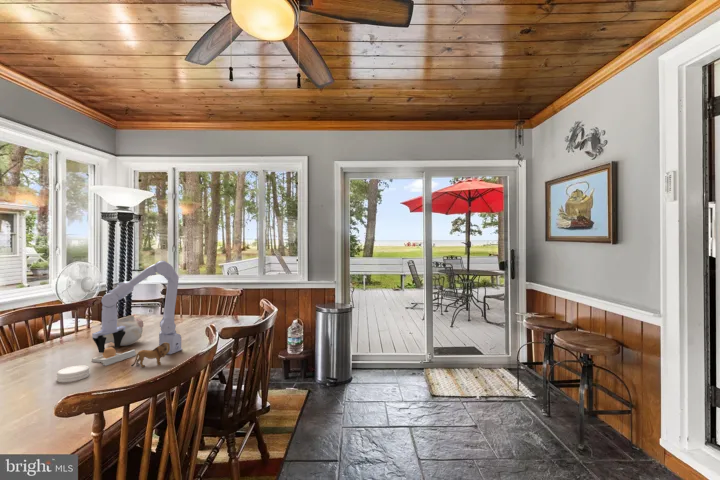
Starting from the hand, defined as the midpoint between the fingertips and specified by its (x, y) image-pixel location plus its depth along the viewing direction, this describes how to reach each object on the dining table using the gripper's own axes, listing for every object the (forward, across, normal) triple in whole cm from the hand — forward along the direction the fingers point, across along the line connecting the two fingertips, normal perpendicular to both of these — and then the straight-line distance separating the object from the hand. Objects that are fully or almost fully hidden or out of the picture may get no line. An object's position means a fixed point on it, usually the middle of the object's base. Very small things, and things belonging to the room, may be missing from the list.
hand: (109, 350), depth 163 cm
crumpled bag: (+4, -20, -15) cm, 25 cm away
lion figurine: (+5, 0, +24) cm, 25 cm away
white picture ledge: (+4, 0, +6) cm, 7 cm away
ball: (+4, 0, 0) cm, 4 cm away
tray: (+4, 0, 0) cm, 4 cm away
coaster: (+5, +21, +7) cm, 23 cm away
